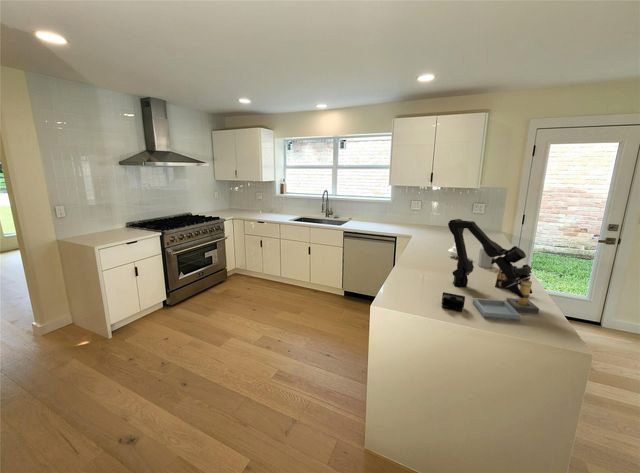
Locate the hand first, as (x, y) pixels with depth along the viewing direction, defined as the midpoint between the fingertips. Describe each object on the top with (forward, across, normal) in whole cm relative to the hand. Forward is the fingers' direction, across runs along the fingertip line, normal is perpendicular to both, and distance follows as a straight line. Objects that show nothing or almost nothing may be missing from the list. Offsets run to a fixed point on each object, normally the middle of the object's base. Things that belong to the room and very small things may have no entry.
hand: (527, 295), depth 138 cm
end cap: (-9, -29, +19) cm, 36 cm away
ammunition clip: (-7, +18, +17) cm, 26 cm away
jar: (-26, +47, +36) cm, 65 cm away
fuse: (+4, 0, +6) cm, 7 cm away
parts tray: (+1, -16, +10) cm, 18 cm away
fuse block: (+4, 0, +6) cm, 7 cm away
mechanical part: (-42, +50, +53) cm, 84 cm away
